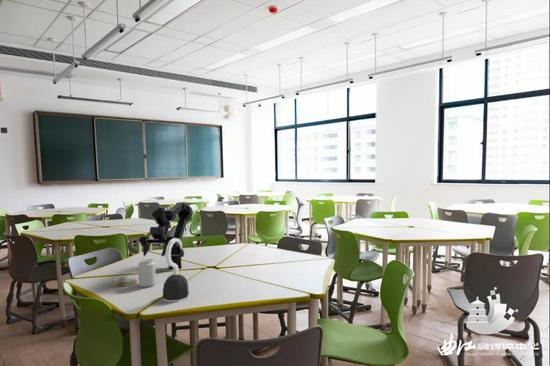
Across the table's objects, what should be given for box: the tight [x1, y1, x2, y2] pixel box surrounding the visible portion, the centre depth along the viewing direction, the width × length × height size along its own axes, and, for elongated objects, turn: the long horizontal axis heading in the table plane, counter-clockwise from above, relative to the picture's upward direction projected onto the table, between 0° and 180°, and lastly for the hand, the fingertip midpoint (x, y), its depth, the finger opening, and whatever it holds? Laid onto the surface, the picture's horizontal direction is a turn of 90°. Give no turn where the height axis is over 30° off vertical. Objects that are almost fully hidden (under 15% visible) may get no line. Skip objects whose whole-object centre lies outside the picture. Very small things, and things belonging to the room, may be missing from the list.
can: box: [137, 258, 157, 288], centre depth 165 cm, size 8×8×12 cm
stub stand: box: [109, 275, 138, 288], centre depth 169 cm, size 12×12×2 cm
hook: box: [162, 238, 190, 303], centre depth 148 cm, size 11×11×25 cm
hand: (153, 255), depth 171 cm, fingers open, 9 cm apart
